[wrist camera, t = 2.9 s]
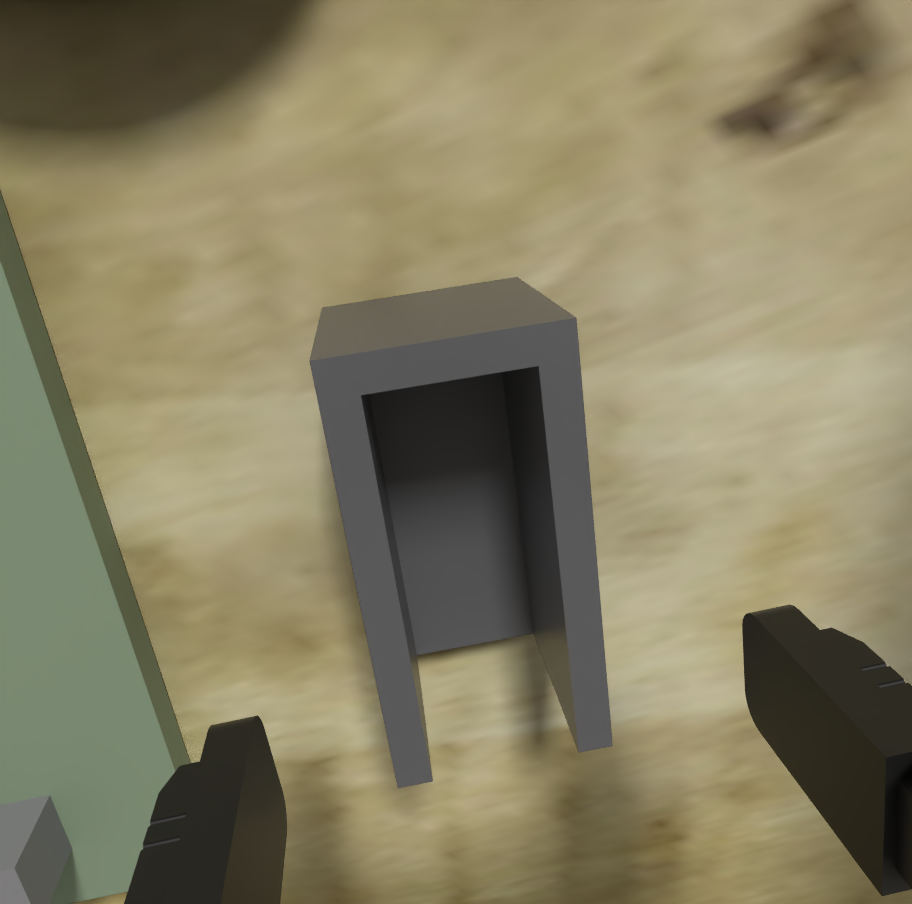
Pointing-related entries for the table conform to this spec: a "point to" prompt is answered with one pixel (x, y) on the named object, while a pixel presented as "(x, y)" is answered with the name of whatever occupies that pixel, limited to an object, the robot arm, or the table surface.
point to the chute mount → (66, 641)
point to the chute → (464, 491)
